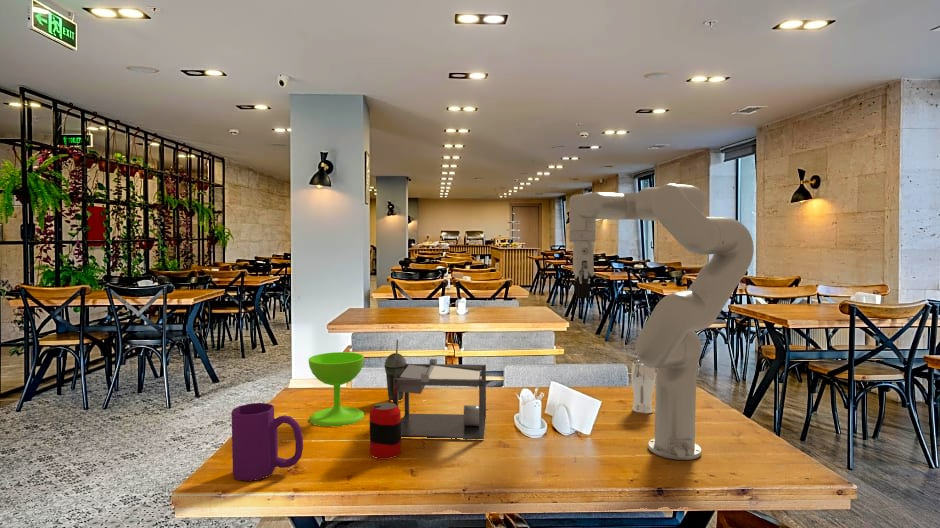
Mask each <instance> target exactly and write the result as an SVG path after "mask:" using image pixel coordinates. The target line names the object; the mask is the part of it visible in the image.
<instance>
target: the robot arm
mask: <svg viewBox="0 0 940 528" xmlns="http://www.w3.org/2000/svg"><path fill="white" fill-rule="evenodd" d="M707 203H708V201H707V197H706V194H705V193H704V192H703V190H702V189H700V188H699V187H697V186H695V185H689V184H679V183H678V184H677V183H667V184H662V185H661V186H656V187H654V186H653V187H644V188H642V189H641V190H640V191H638V192H627V193H624V192H623V193H622V192H621V193H619V192H618V193H617V192H606V191H602V192H601V191H595V192H590V193H587V194H586V193H585V194H584V193H583V194H581V193H580V194H573V195H571V196H570V197H569V221H568V222H569V223H568V224H569V226H568V230H569V233H568V235H569V236H568V241H569V243H572V272H573V274H574V280H573V294H574V295H578V298H580V299H582V298H583V299H590V297H591V278H590V277H594V275H595V270H594V269H595V267H594V265H595V264H594V261H595V260H594V246H593V243H596V239H597V238H596V233H597V230H596V228H597V226H596V225H597V224H596V223H597V222H596V220H617V221H618V220H626V221H627V220H641V221H644V222H647V221H648V222H654V221H655V222H656V221H658V222H659V223H660V224H661V225H662V227H664V228H665V229H666V230H667V232H668V233H669V234H670V235H671V236H672V237H673V238H674V239H675V240H676V242H678V243H679V244H680V246H681V247H682V248H683V249H685V250H686V251H688V252H689V253H692V254H695V255H698V256H699V255H700V256H701V255H702V256H703V255H713V256H712V257H711V258H710V259H709V260H708V261H707V263H706V264H704V265H703V266H702V268H701V269H700V270H699V272H698V273H697V275H696V277H695V279H694V280H693V282H692V283H691V285H690V286H689V287H688V289H686V290H684V291H677V292H672V293H669V294H666V295H665V296H664V297H663V298H662V299H660V300H659V302H658V303H657V304H656V305H655V307H654V308H653V310H652V312H651V314H650V315H649V317H648V318H647V321H646V322H645V324H644V325H643V327H642V328H641V331H640V333H639V335H638V337H637V339H636V342H635V353H636V356H637V359H638V360H640V362H641V363H642V364H643V365H645V366H647V367H649V368H654V369H655V370H656V369H657V371H656V373H655V386H654V389H655V398H654V438H652V439H650V440H649V441H648V443H647V449H649V450H650V452H652V453H653V454H655V455H657V456H658V457H659V456H660V457H662V458H665V459H670V460H676V461H677V460H679V461H690V460H695V459H698V458H699V457H701V455H702V447H701V446H700V445H699V444H697V443H696V410H697V409H696V407H697V405H696V403H697V402H696V401H697V396H696V395H697V377H698V367H699V363H700V359H701V352H702V345H701V339H700V337H699V335H698V334H697V331H701V330H705V329H708V328H709V327H711V326H712V325H713V324H714V322H715V321H716V319H717V318H718V316H720V313H721V312H722V310H723V309H724V307H725V306H726V304H727V302H728V301H729V300H730V298H731V296H732V295H733V292H734V291H735V289H736V288H737V287H738V285H739V283H740V282H741V280H743V278H744V276H745V275H746V273H747V272H748V270H749V268H750V266H751V263H752V260H753V257H754V241H753V238H752V235H751V233H750V231H749V229H748V228H747V227H746V226H745V225H744V224H743V223H742V222H740V221H739V220H737V219H734V218H731V217H724V216H722V217H721V216H705V215H704V214H703V213H704V212H705V210H706V208H707V205H708V204H707Z"/></svg>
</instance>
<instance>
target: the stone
mask: <svg viewBox="0 0 940 528" xmlns="http://www.w3.org/2000/svg"><path fill="white" fill-rule="evenodd" d="M463 415H464V426H479V405H471V404H470V405H468V404H467V405H463Z"/></svg>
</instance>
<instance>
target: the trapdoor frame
mask: <svg viewBox="0 0 940 528" xmlns="http://www.w3.org/2000/svg"><path fill="white" fill-rule="evenodd" d="M428 362H429V363H406V364H404V371H405V369H406V368H407V367H408V365H416V366H425V367H430V365H432V364H433V365H435V366H440V367H449V368H458V369H467V370H476V371H480V372H481V379H480V378H479V379H429V373H422V374H421V379H411V378H394V379H393V402H392V403H394V404H396V405H397V407H398V408H399V409H400V407H399V403H400V402H399V401H398V385H425V387H426V386H431V387H432V386H433V387H435V386H437V387H439V386H440V387H469V386H478V406H479V426H464V414H455V413H454V414H452V413H449V414H447V413H410V393H407V392H404V416H403V417H402V419H401V437H427V438H451V439H452V438H455V439H457V438H463V439H484V440H485V432H484V431H485V430H486V422H485V420H486V421H487V405H486V404H487V364H462V363H461V364H460V363H459V364H457V363H456V364H455V363H454V364H453V363H451V364H450V363H448V364H447V363H442V364H441V363H438V359H437V358H430V359H429V361H428Z"/></svg>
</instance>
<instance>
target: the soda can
mask: <svg viewBox="0 0 940 528" xmlns="http://www.w3.org/2000/svg"><path fill="white" fill-rule="evenodd" d="M401 413H402V412H401V409H400V407H399V408H398V407H397V405H396V404H394V403H393V402H380V403H376V404H374V405H373V407H372V408H371V409H370V410H369V454H371V455H372V456H374V457H377V458H390V457H394V456H397V455H398V454H399V455H400V454H401V452H402V447H401V446H402V439H401V421H402V419H401ZM371 455H370V456H371ZM399 455H398V456H399ZM372 456H371V457H372ZM398 456H397V457H398ZM374 457H373V458H374ZM394 458H395V457H394Z"/></svg>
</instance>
